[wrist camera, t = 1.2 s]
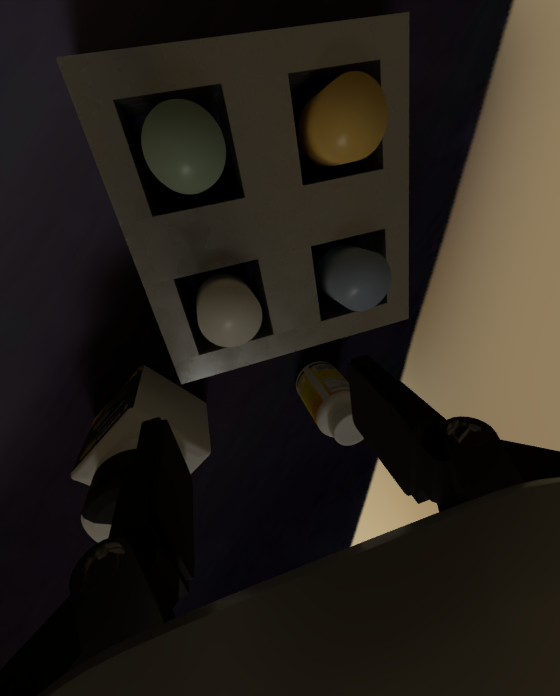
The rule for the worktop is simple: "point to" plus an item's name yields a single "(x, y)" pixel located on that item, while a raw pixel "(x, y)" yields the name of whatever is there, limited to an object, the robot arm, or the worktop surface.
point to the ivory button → (227, 311)
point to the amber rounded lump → (343, 120)
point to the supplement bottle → (328, 401)
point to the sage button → (183, 146)
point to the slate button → (354, 276)
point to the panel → (255, 178)
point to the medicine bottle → (135, 440)
